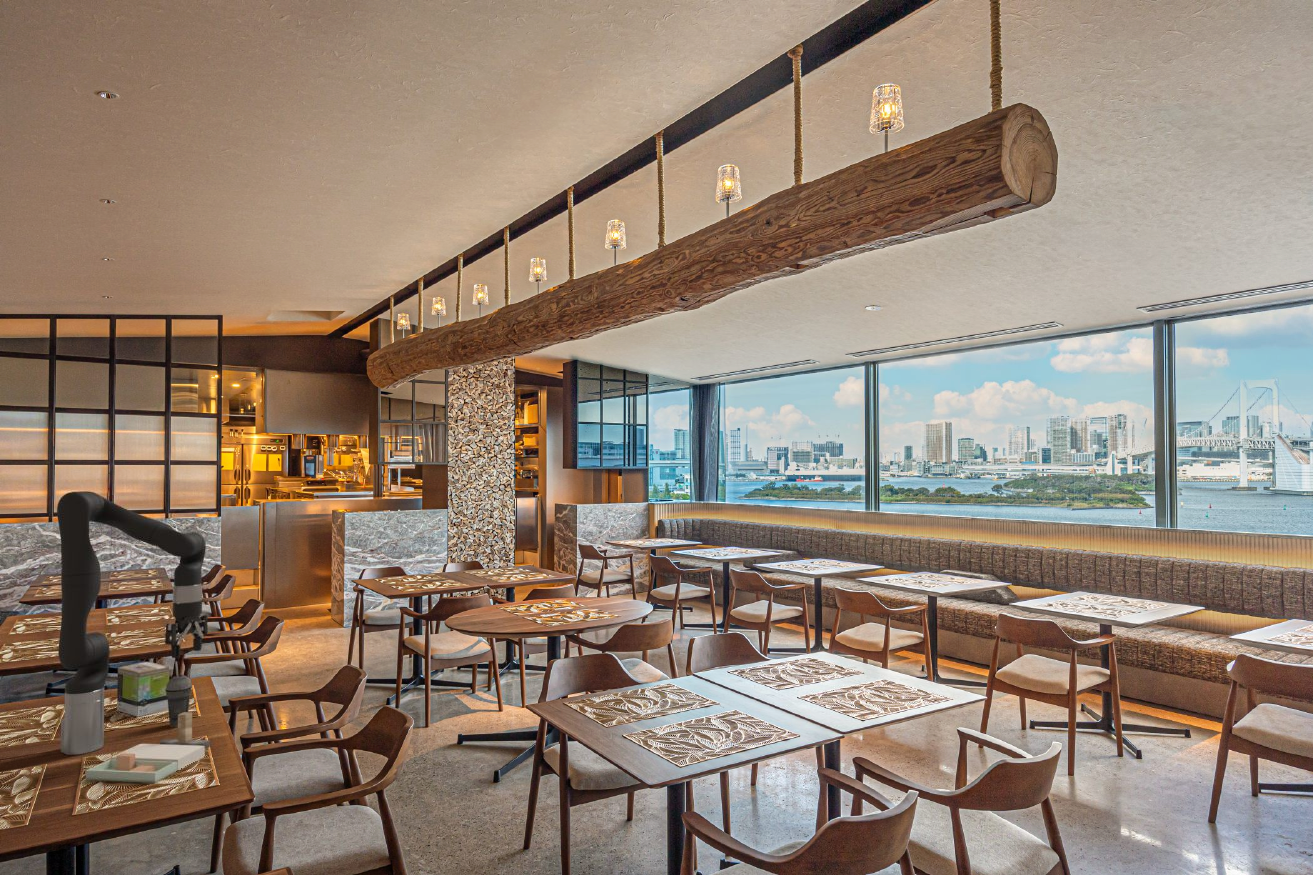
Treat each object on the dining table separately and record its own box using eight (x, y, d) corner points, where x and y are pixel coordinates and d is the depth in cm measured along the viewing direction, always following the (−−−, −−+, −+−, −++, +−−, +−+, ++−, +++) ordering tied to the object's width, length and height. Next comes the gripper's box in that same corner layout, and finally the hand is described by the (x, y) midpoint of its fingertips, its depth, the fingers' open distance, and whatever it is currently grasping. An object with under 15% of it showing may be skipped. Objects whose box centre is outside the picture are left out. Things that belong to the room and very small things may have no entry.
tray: (85, 779, 197) (86, 770, 197) (110, 768, 204) (110, 759, 204) (155, 782, 194) (155, 772, 194) (177, 770, 202) (177, 761, 202)
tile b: (140, 765, 200) (140, 772, 200) (128, 771, 196) (127, 778, 196) (153, 765, 200) (153, 772, 200) (141, 771, 196) (141, 778, 196)
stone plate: (111, 768, 205) (111, 756, 205) (140, 754, 214) (140, 743, 215) (177, 770, 202) (178, 759, 202) (204, 756, 212) (204, 745, 212)
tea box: (169, 709, 255) (170, 665, 256) (136, 717, 247) (137, 672, 247) (148, 702, 263) (148, 660, 264) (115, 710, 255) (116, 666, 255)
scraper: (159, 748, 219) (160, 714, 219) (166, 745, 221) (166, 711, 222) (203, 750, 217) (204, 715, 218) (209, 747, 220) (210, 712, 220)
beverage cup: (178, 729, 235) (179, 664, 236) (158, 728, 236) (160, 663, 237) (197, 721, 242) (198, 659, 243) (178, 720, 244) (178, 658, 244)
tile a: (121, 768, 203) (116, 770, 201) (122, 753, 203) (116, 755, 202) (135, 768, 203) (129, 771, 201) (135, 753, 203) (129, 756, 201)
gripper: (193, 595, 233) (192, 648, 232) (157, 603, 219) (156, 659, 218) (215, 595, 232) (215, 648, 231) (181, 604, 218) (180, 660, 217)
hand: (186, 654), depth 225 cm, fingers open, 8 cm apart
